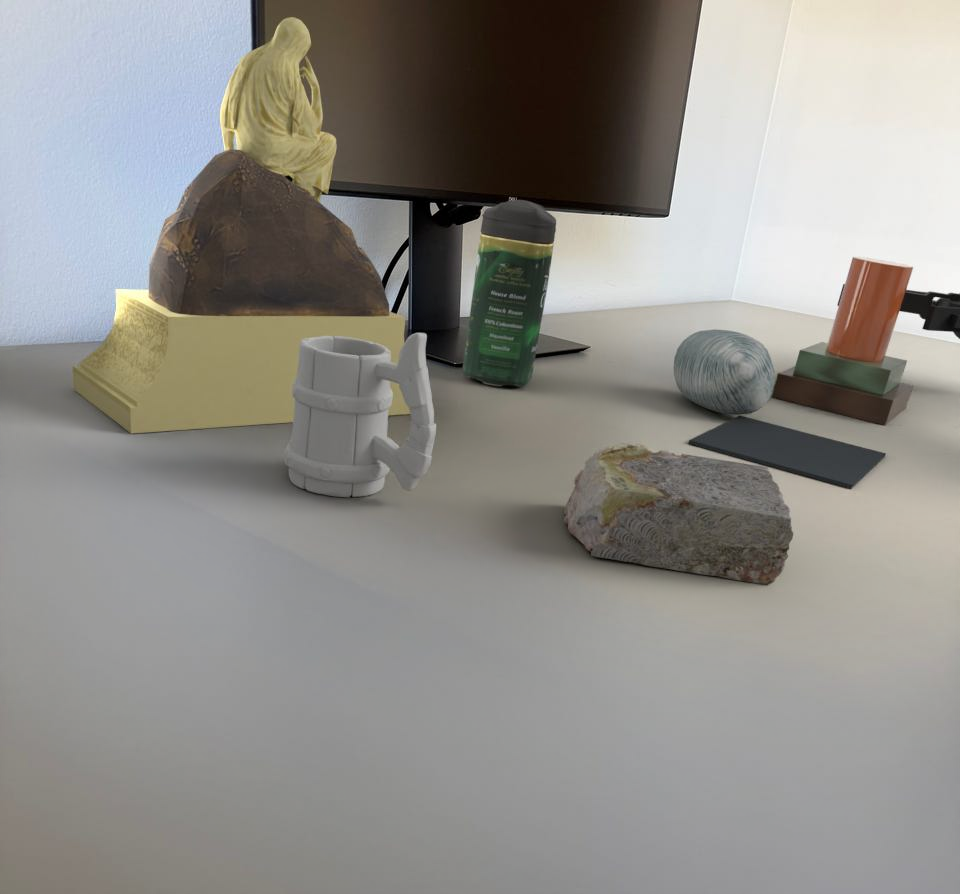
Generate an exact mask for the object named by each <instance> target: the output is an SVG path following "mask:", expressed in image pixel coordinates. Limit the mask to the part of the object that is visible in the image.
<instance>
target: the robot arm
mask: <svg viewBox="0 0 960 894" xmlns="http://www.w3.org/2000/svg"><path fill="white" fill-rule="evenodd" d="M844 286H845V283H843V284H842V288H841V291H840V294H839V298H838V302H837V307H838V306H839V303H840V300H841V296H842V293H843V289H844ZM934 298H937V300H936V299H934ZM899 312H901V313H908V314H915V315H918V316H919V318H921V319H922V320H924V322H923V325H922V330H925V331H929V332H946V333H947V332H949V333H953V334H954V336H955V337H957V338H958V339H959V340H960V292H959V293H956V292H948V293H944V292H938V291H919V290H911V289H906V292H905V295H904V298H903V302H902V305H901V308H900V311H899Z"/></svg>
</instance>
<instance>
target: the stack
mask: <svg viewBox="0 0 960 894" xmlns="http://www.w3.org/2000/svg"><path fill="white" fill-rule="evenodd" d="M827 344H828V342H824V341H821V342H817V343H815V344H813V345H812V344H811V345H810V346H807V347H805V348H802V349H799V351H798V355H797V359H796V362H795V365H794V366H792V367H790V368H787V369H785V370H782V371H780V372H777V375H776V378H775V381H774V387H773V391H772V394H771V398H773V399H776V400H780V401H785V402H789V403H792V404H797V405H802V406H805V407H810V408H814V409H816V410H817V409H818V410H821V411H826V412H828V413H829V412H830V413H834V414H836V415H837V414H838V415H842V416H846V417H850V418H854V419H858V420H861V421H866V422H870V423H873V424H874V423H875V424H877V425H881V426H886V425H887V424H889V423H890V422H891V421H892V420H894V419H895V418H896V417H897V416H898V415H900V414H901V413H902V412H903V411H904V410H906V409H907V406H908V403H909V401H910V398H911V394H912V391H913V389H914V385H913V384H909V383H905V382H901V381H902V379H903V376H904V372H905V369H906V366H907V363H908V360H907V359H902V358H897V357H894V356H890V355H889V356H888V355H885V358H884V361H882V362H868V361H861V360H855V359H850V358H846V357H842V356H838V355H835V354H832V353H830V352H828V351H826V348H827Z"/></svg>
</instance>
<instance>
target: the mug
mask: <svg viewBox="0 0 960 894" xmlns="http://www.w3.org/2000/svg"><path fill="white" fill-rule="evenodd" d="M427 338H428V335H427V333H425V332H415V333H412V334H410V335H409V336H408V337H407V338H406V340H405V341H404V344H403V346H402V348H401V350H400V353H399V357H398V365H397V364H395V363H392V362H391V351H390V350H389V349H388V348H386V347H385V346H383V345H380V344H377V343H373V342H370V341H365V340H361V339H355V338H350V337H342V336H334V337H333V338H332V337H331V336H321V337H312V338H304V339H303V340H301V341H300V346H299V358H298V370H297V378H296V379H295V380H294V381H293V385H292V396H293V398H295V405H294V416H293V422H292V428H291V440H290V442H289V443H288V444H287V445H286V447H285V453H284V461H285V464H286V466H288V477H289V480H290V481H291V482H290V483H292V484H293V485H294V486H296V487H298V488H299V489H302V490H306V491H307V492H311V493H315V494H318V495H322V496H323V495H324V496H329V497H338V498H350V497H351V496H352V498H356V497H366V496H372V495H375V494H378V493H379V492H380V491H381V490H383V488H384V486H385V479H386V476H387V475H388V474H389V472H390V471H391V472H392V473H393V475H394V476H395V478H396V480H397V482H398V483H399V485H400V487H401V489H402V490H404V491H406V492H410V491H412V490H414V489H415V488H416V487H417V486H418V483H419V481H420V480H421V478H422V476H425V475H426V474H427V473H428V471H429V468H430V466H431V463H432V460H433V456H432V454H433V448H434V445H435V444H434V443H435V439H436V433H437V424H436V422H435V409H434V404H433V400H432V399H433V394H432V390H431V389H432V388H431V383H430V378H429V377H430V376H429V368H428V366H427V356H426V347H427V340H428V339H427ZM390 381H392V382H395V383H398V384H400V386H399V388H400V390H401V392H402V395H403V398H404V401H405V403H406V405H407V406H408V407H409V411H410V414H409V415H410V418H411V420H410V421H409V431H408V439H407V440H405V441H404V443H403V444H402V445H401V446H400V445H398V444H397V443H396V442H395V441H394V440H393V439H392V438H390V437H389V436H388V426H389V425H388V424H389V420H388V419H389V415H388V409H389V408H390V406H391V405H392V398H393V392H392V390H391V388H390Z"/></svg>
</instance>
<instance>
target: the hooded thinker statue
mask: <svg viewBox="0 0 960 894" xmlns="http://www.w3.org/2000/svg"><path fill="white" fill-rule="evenodd" d="M311 47H312V39H311V35H310V31H309V29H308V28H307V26H306V24H305V23H304V22H303V21H302V20H301V19H299V18H296V17H293V16H291V17H286V18H284V19H282V20H281V22H279V24H278V25H277V27H276V30H275V31H274V35H273V36H272V37H271V39H270V40H269V41H268V42H267V43H265V44H263V45H261V46H259V47H257V48H255V49H253V50H250V51H248V52H247V53H246V54H244V55H243V56H242V57H241V58H240V60H239V61H238V63H237V65H236V67H235V69H234V70H233V72H232V74H231V76H230V79H229V80H228V83H227V86H226V89H225V92H224V96H223V99H222V101H221V106H220V111H219V121H220V123H219V124H220V128H221V134H222V141H223V148H224V151H222V152H219V153H217V154H215V155H214V156H213V157H212V158H211V159H210V160H209V161H208V163H207V164H206V165H205V166H204V167H203V169H201V171H200V172H199V173H198V174H197V175H196V177H195V178H194V179H193V180H192V181H191V182H190V183H189V185H187V187H186V188H185V189H184V192H183V193H182V196H181V198H180V201H179V203H178V204H177V205H178V206H177V208H176V210H175V212H174V213H172V214H171V215H170V216H168V217H166V218H165V219H164V220H163V223H162V227H161V230H160V232H159V235H158V238H157V241H156V243H155V246H154V250H153V252H152V255H151V257H150V260H149V264H148V289H118V288H117V289H115V301H116V302H115V305H116V306H115V307H116V309H115V313H114V318H113V322H112V328H111V329H110V331H109V333H108V334H107V336H106V337H105V338H104V340H103V341H102V343H101V344H100V346H98V347H97V348H96V349H94V350H93V351H92V352H91V353H90V354H89V355H87V356H86V357H85V358H83V359H82V360H81V361H80V362H79V363H80V364H79V365H72V383H73V391H75V392H76V393H77V394H78V395H80V396H81V397H82V398H84V399H85V400H86V401H87V402H89V403H90V404H92V405H93V406H94V407H96V408H97V409H98V410H99V411H101V412H102V413H104V414H105V415H106V416H107V417H109V418H110V419H111V420H113V421H114V422H115V423H116V424H118V425H119V426H121V427H122V428H123V429H124V430H126V431H127V432H128V433H129V434H143V433H160V432H173V431H174V432H175V431H187V430H201V429H217V428H230V427H242V426H243V427H244V426H245V427H246V426H258V425H259V426H260V425H272V424H286V423H293V416H294V405H295V398H293V396H292V385H293V381H294V380H295V379H296V378H297V370H298V358H299V346H300V341H301V340H303V339H304V338H312V337H321V336H331V337H332V338H333V337H334V336H342V337H350V338H355V339H361V340H365V341H370V342H373V343H377V344H380V345H383V346H385V347H386V348H388V349H389V350H390V351H391V362H392V363H395V364H397V365H398V357H399V353H400V350H401V348H402V346H403V344H404V343H405V327H406V318H407V317H405V316H402V315H400V314H397V313H395V312H392V311H390V303H389V300H388V298H387V294H386V292H385V288H384V284H383V282H382V278H381V275H380V274H379V272H378V270H377V268H376V267H375V265H374V264H373V262H372V261H371V259H370V257H369V256H368V254H367V253H366V251H365V250H364V248H362V247H361V246H358V244H357V241H356V237H355V235H354V232H353V229H352V228H351V227H350V226H348V225H347V224H346V223H345V222H344V221H342V220H341V219H340V218H339V217H338V216H336V215H335V214H334V213H333V212H331V210H330V209H328V208H327V207H326V206H325V205H323V204H322V203H321V199H322V195H323V193H324V194H326V195H329V189H330V185H331V178H332V172H333V165H334V160H335V157H336V154H337V148H338V147H337V146H338V145H337V138H336V137H335V135H333V134H332V133H329V132H326V131H321V130H322V125H323V119H324V113H323V106H322V98H321V91H320V85H319V81H318V79H317V77H316V74H315V71H314V69H313V66H312V64H311V62H310V60H309V58H308V56H307V53H308V52H309V50H310V48H311ZM304 58H305V62H306V66H307V67H306V66H302V67H300V62H301V61H302V59H304ZM300 71H303V72H302V74H300ZM301 77H302V78H301ZM304 77H305V78H306V80H307V82H308V84H309V86H310V89H311V103H310V100H309V98H308V96H307V92H306V90H305V89H306V88H305V87H304V84H303V82H302V79H303V80H304V79H305V78H304ZM234 137H235V139H234ZM234 140H235V143H234ZM235 144H236V145H235ZM235 146H236V149H235ZM399 386H400V384H398V383H395V382H392V381H390V388H391V390H392V392H393V398H392V405H391V406H390V408H389V409H388V416H402V415H411V414H410V411H409V407H408V406H407V405H406V403H405V401H404V398H403V395H402V392H401V390H400V388H399Z"/></svg>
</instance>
